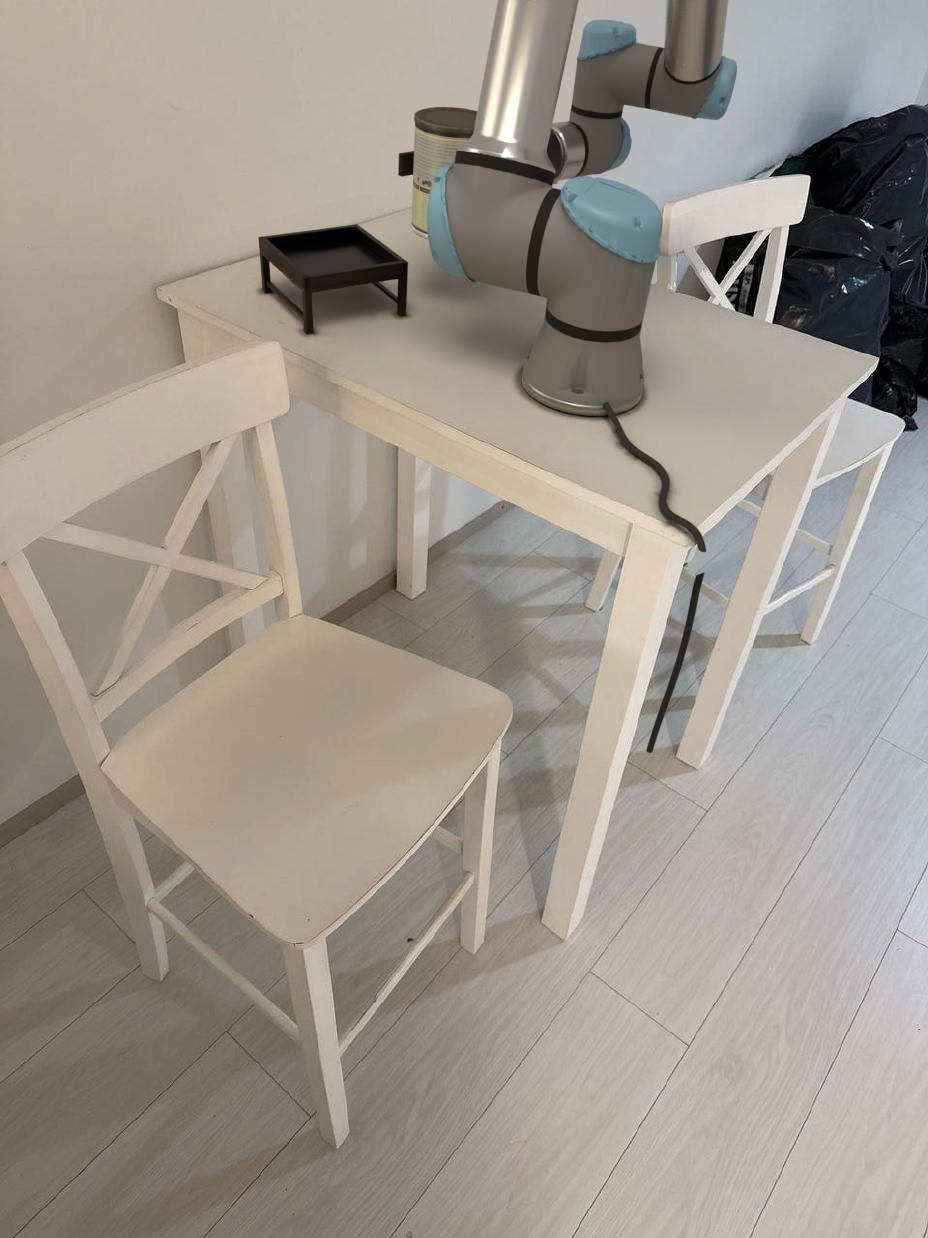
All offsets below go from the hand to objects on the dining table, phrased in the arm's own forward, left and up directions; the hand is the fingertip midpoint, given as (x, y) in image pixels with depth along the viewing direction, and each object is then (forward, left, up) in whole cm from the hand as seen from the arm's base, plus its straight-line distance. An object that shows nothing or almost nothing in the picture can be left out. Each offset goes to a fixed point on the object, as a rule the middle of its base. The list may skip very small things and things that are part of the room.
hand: (426, 176), depth 118 cm
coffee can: (+1, -4, -8) cm, 9 cm away
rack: (+5, +11, -17) cm, 21 cm away
